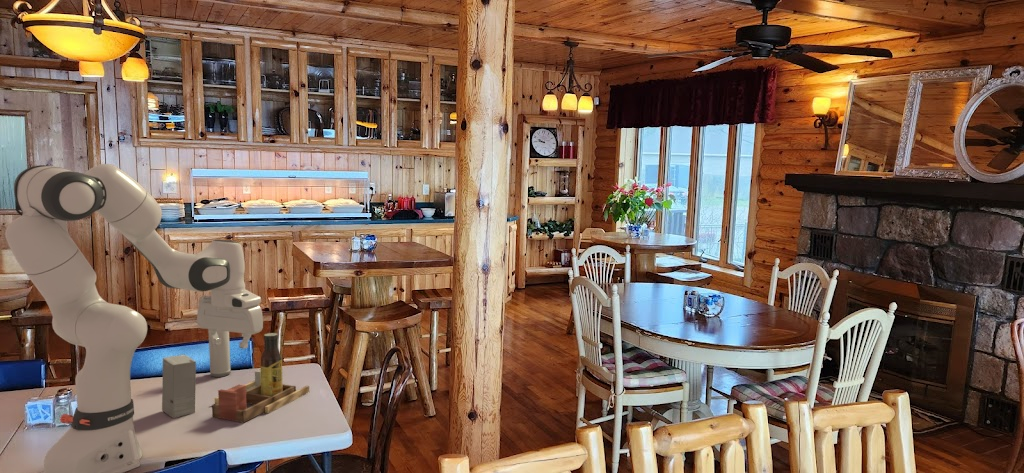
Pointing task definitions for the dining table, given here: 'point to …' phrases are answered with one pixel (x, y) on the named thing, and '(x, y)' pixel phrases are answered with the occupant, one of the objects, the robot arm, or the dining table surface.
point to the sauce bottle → (271, 367)
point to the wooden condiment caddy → (237, 397)
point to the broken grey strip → (256, 379)
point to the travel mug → (220, 355)
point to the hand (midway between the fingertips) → (230, 346)
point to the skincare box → (178, 385)
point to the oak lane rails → (281, 401)
